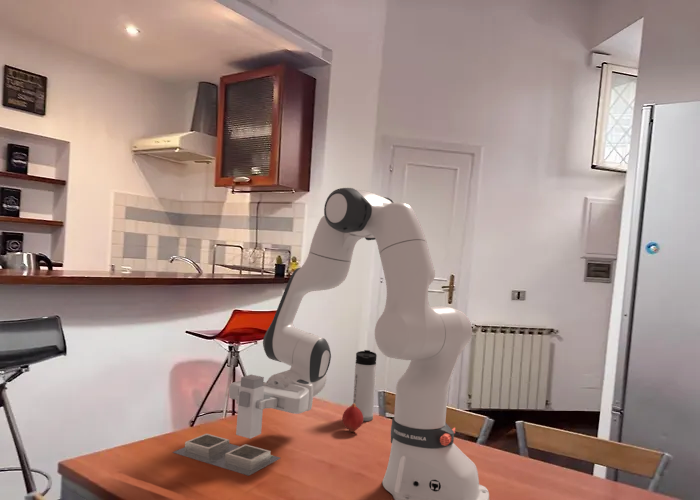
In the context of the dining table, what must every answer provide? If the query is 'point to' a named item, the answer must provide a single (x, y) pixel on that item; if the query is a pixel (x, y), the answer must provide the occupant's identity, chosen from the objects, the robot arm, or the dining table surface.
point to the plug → (250, 406)
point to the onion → (352, 418)
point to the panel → (227, 454)
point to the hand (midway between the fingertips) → (248, 403)
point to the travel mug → (365, 383)
